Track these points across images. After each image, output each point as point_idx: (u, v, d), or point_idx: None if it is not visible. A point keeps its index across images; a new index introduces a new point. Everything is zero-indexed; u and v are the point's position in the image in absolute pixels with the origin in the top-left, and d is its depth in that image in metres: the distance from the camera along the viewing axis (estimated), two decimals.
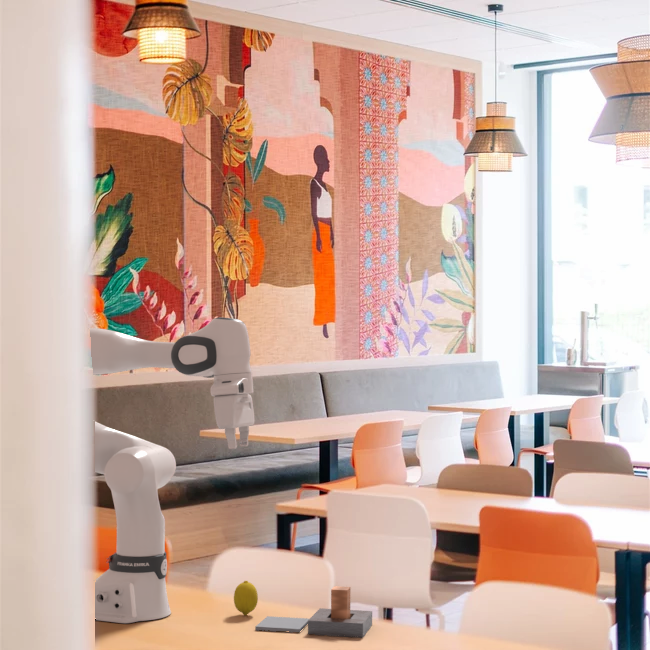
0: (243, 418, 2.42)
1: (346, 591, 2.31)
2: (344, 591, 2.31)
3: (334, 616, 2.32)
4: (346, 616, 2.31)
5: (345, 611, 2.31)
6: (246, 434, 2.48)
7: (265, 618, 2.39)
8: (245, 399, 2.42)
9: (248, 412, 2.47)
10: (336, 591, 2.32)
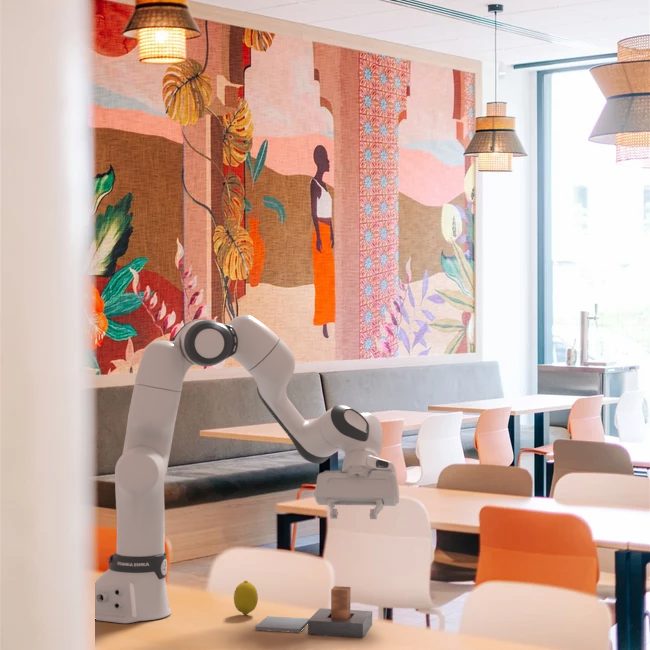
0: None
1: (346, 591, 2.31)
2: (344, 591, 2.31)
3: (334, 616, 2.32)
4: (346, 616, 2.31)
5: (345, 611, 2.31)
6: None
7: (265, 618, 2.39)
8: None
9: None
10: (336, 591, 2.32)
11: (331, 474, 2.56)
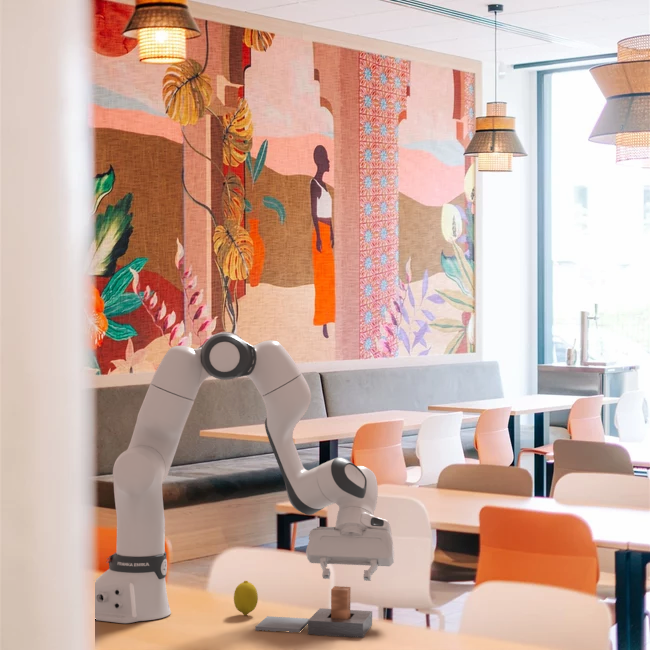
0: None
1: (346, 591, 2.31)
2: (344, 591, 2.31)
3: (334, 616, 2.32)
4: (346, 616, 2.31)
5: (345, 611, 2.31)
6: None
7: (265, 618, 2.39)
8: None
9: None
10: (336, 591, 2.32)
11: (324, 531, 2.48)
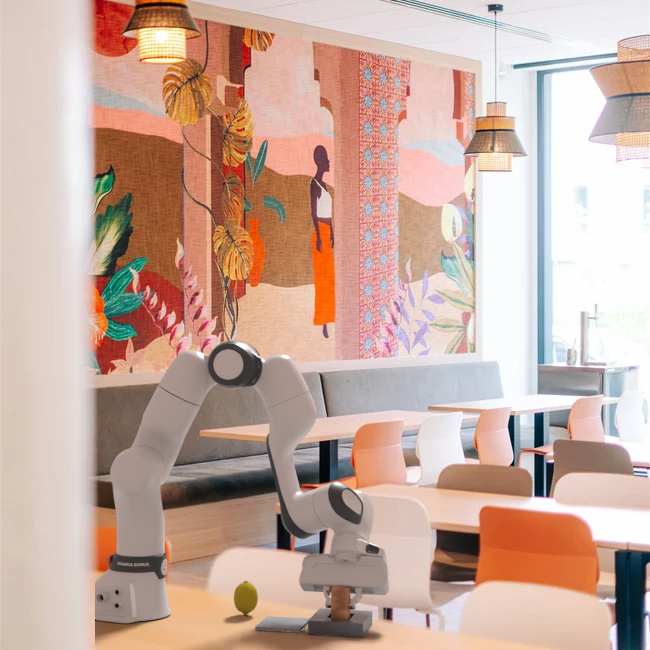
0: None
1: (346, 591, 2.31)
2: (344, 591, 2.31)
3: (334, 616, 2.32)
4: (346, 616, 2.31)
5: (345, 611, 2.31)
6: None
7: (265, 618, 2.39)
8: None
9: None
10: (336, 591, 2.32)
11: (318, 558, 2.41)
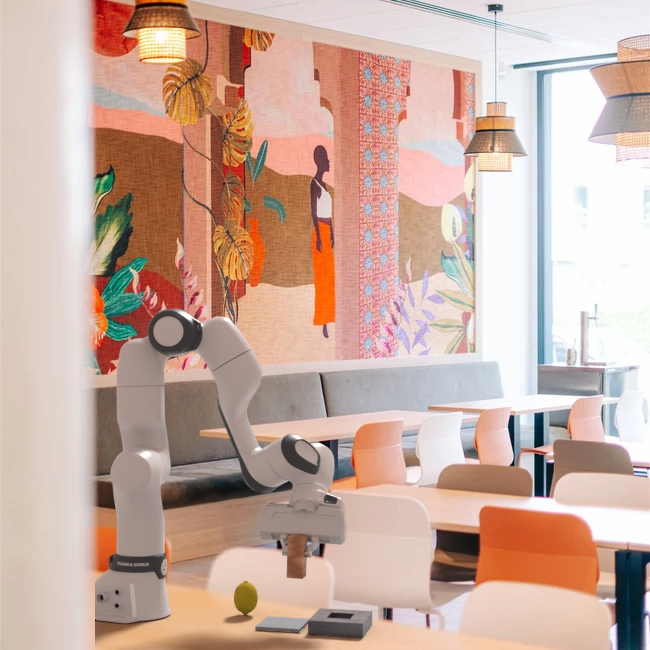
0: None
1: (302, 538, 2.34)
2: (300, 538, 2.34)
3: (290, 563, 2.34)
4: (302, 563, 2.33)
5: (301, 558, 2.33)
6: None
7: (265, 618, 2.39)
8: None
9: None
10: (292, 538, 2.34)
11: (277, 507, 2.43)
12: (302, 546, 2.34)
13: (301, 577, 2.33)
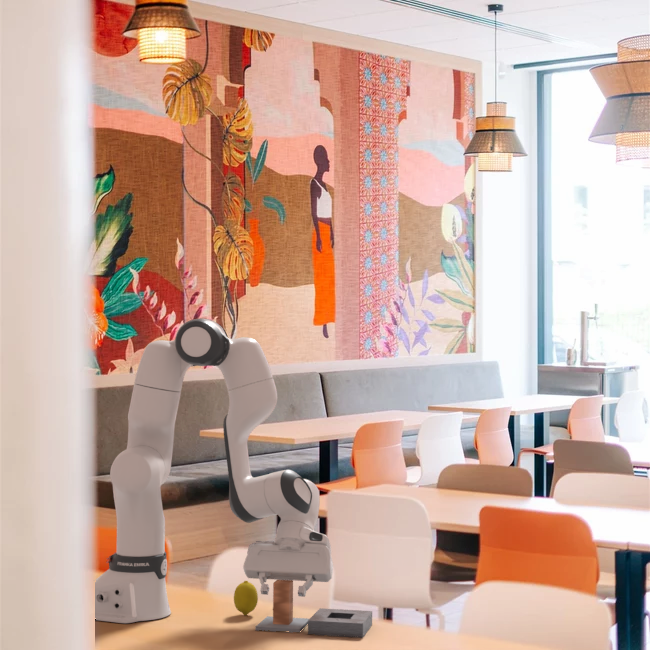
0: None
1: (288, 584, 2.34)
2: (286, 584, 2.34)
3: (276, 609, 2.34)
4: (288, 609, 2.34)
5: (287, 604, 2.34)
6: None
7: (265, 618, 2.39)
8: None
9: None
10: (278, 584, 2.34)
11: (262, 546, 2.44)
12: (288, 592, 2.34)
13: (287, 623, 2.34)
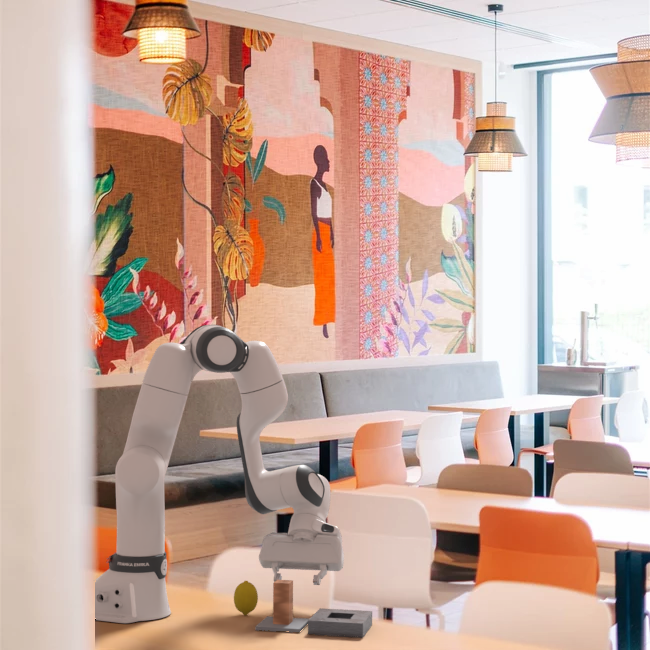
0: None
1: (288, 584, 2.34)
2: (286, 584, 2.34)
3: (276, 609, 2.34)
4: (288, 609, 2.34)
5: (287, 604, 2.34)
6: None
7: (265, 618, 2.39)
8: None
9: None
10: (278, 584, 2.34)
11: (277, 537, 2.56)
12: (288, 592, 2.34)
13: (287, 623, 2.34)
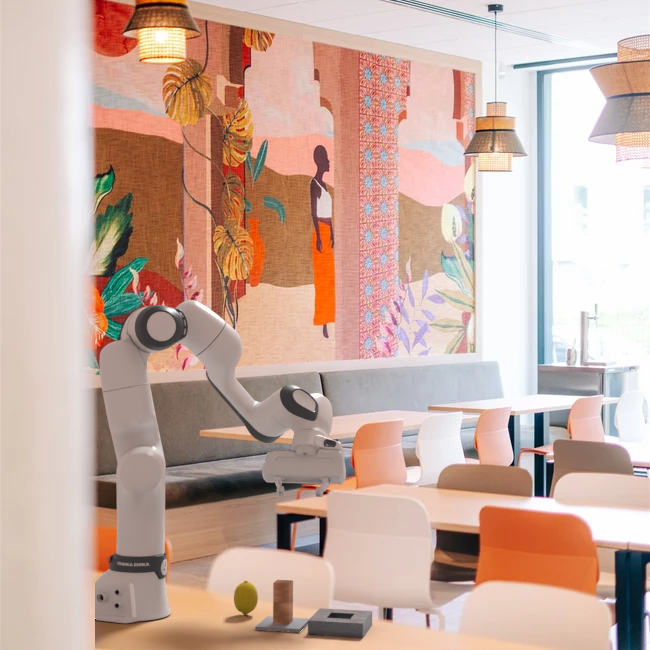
0: None
1: (288, 584, 2.34)
2: (286, 584, 2.34)
3: (276, 609, 2.34)
4: (288, 609, 2.34)
5: (287, 604, 2.34)
6: None
7: (265, 618, 2.39)
8: None
9: None
10: (278, 584, 2.34)
11: (279, 452, 2.59)
12: (288, 592, 2.34)
13: (287, 623, 2.34)
